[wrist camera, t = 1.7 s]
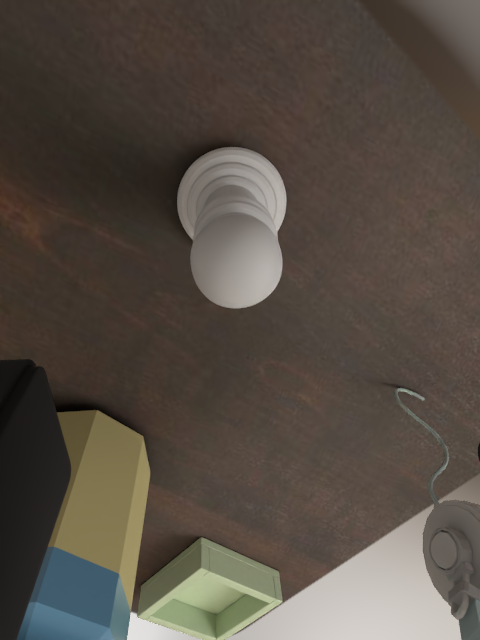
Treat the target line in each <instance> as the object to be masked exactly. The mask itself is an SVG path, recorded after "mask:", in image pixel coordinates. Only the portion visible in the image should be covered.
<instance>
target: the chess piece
mask: <svg viewBox="0 0 480 640" xmlns="http://www.w3.org/2000/svg"><path fill="white" fill-rule="evenodd" d="M286 203H287V202H286V191H285V187H284V183H283V181H282V178H281V176H280V174H279V173H278V171H277V170H276V168H275V167H274V166H273V165H272V164H271V163H270V162H269V161H268V160H267V159H266V158H264V157H263V156H261V155H260V154H258V153H256V152H254V151H251V150H248V149H245V148H240V147H225V148H220V149H216V150H213V151H210V152H208V153H206V154H204V155H203V156H201V157H200V158H198V159H197V160H196V161H195V162H194V163H193V164H192V165H191V166H190V167H189V168H188V170H187V171H186V173H185V174H184V176H183V178H182V180H181V183H180V186H179V189H178V195H177V208H178V214H179V218H180V221H181V223H182V225H183V227H184V229H185V231H186V232H187V234H188V235H189V236H190V237H191V239H192V240H193V245H192V249H191V257H190V261H191V270H192V274H193V277H194V280H195V282H196V284H197V286H198V287H199V289H200V290H201V292H202V293H203V294H204V295H205V296H206V297H207V298H208V299H209V300H211V301H212V302H214V303H215V304H217V305H220V306H223V307H227V308H244V307H249V306H252V305H255V304H257V303H259V302H261V301H262V300H264V299H265V298H266V297H268V296H269V295H270V294H271V293H272V292H273V290H274V289H275V288H276V286H277V284H278V282H279V280H280V277H281V273H282V254H281V249H280V246H279V243H278V235H277V231H278V230H279V228H280V226H281V224H282V221H283V219H284V215H285V211H286Z"/></svg>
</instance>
